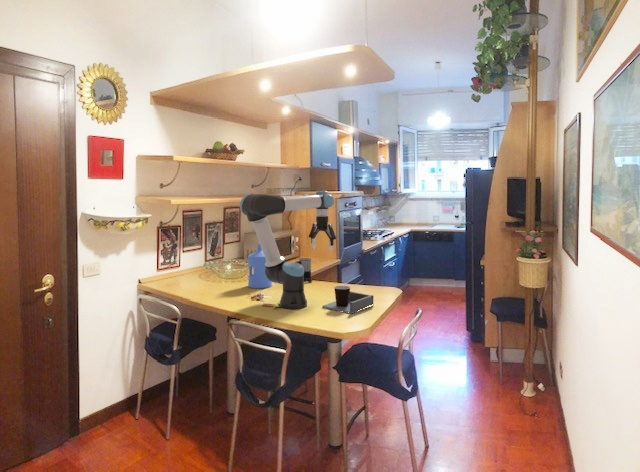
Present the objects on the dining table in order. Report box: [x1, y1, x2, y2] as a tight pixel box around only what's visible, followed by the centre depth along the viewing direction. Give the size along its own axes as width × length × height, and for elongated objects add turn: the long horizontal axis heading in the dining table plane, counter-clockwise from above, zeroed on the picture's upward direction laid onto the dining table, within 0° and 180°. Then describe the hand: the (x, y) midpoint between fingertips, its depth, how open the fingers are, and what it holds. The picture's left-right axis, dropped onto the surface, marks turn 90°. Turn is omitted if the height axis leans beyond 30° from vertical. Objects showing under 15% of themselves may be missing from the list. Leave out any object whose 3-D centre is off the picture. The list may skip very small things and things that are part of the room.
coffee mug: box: [333, 285, 351, 307], centre depth 234 cm, size 12×9×10 cm
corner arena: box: [321, 290, 374, 314], centre depth 234 cm, size 20×20×6 cm
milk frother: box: [294, 257, 313, 283], centre depth 303 cm, size 14×16×15 cm
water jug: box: [247, 243, 273, 290], centre depth 283 cm, size 16×16×28 cm
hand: (322, 249), depth 266 cm, fingers open, 13 cm apart
